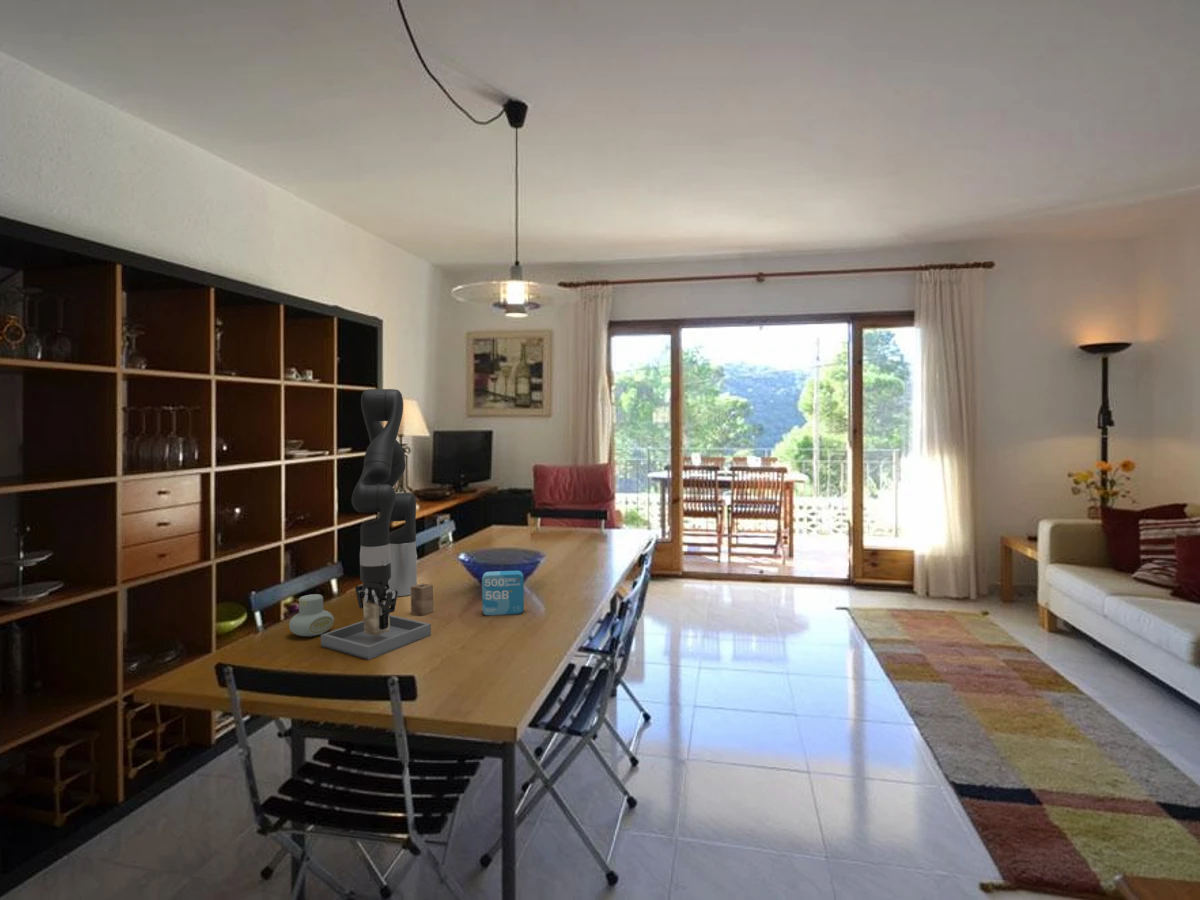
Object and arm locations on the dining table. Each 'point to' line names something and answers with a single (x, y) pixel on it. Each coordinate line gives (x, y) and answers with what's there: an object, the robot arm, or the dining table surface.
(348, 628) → the tray
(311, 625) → the air freshener
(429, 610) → the full-size block
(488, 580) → the data package
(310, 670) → the dining table surface
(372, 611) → the block
